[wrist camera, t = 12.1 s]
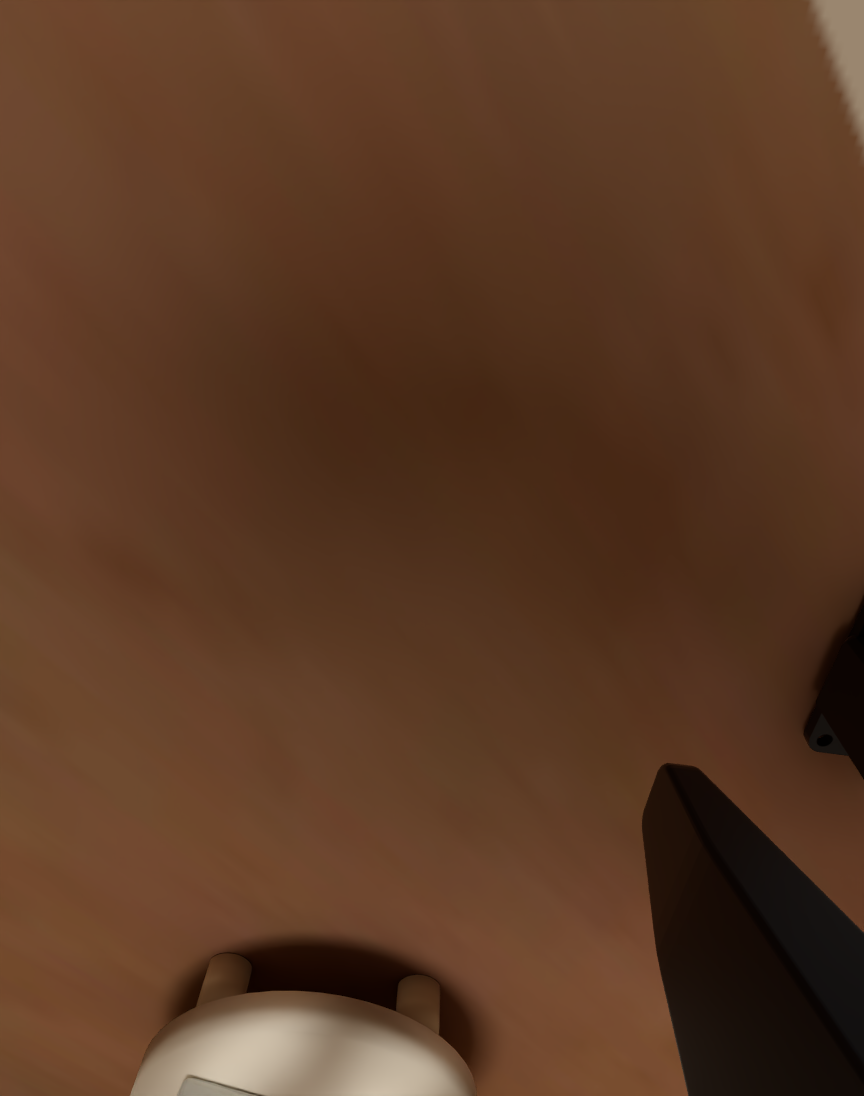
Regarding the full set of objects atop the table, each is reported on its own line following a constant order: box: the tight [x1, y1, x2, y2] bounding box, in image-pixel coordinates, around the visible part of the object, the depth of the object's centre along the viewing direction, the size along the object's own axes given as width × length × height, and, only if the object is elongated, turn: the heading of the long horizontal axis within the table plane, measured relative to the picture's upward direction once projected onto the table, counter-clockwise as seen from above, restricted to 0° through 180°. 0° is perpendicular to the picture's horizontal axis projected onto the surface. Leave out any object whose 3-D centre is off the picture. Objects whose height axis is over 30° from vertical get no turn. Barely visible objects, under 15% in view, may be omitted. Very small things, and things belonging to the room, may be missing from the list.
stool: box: [130, 953, 477, 1096], centre depth 32 cm, size 14×14×4 cm
